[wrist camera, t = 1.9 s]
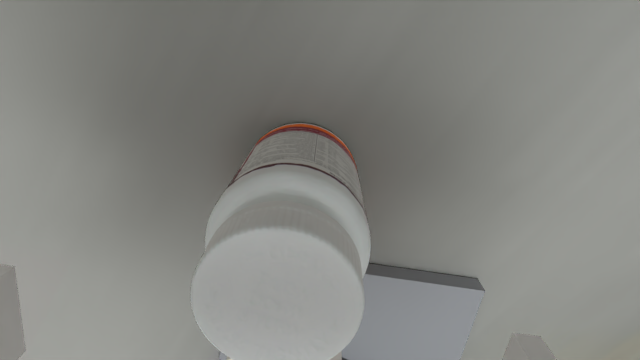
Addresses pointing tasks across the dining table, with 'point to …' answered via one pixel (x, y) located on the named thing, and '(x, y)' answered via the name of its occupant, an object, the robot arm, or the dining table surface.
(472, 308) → the board
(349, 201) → the pill bottle
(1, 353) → the robot arm
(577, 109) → the dining table surface
